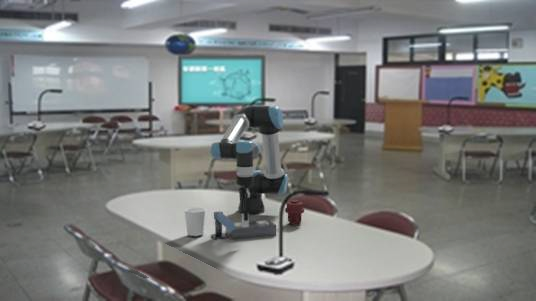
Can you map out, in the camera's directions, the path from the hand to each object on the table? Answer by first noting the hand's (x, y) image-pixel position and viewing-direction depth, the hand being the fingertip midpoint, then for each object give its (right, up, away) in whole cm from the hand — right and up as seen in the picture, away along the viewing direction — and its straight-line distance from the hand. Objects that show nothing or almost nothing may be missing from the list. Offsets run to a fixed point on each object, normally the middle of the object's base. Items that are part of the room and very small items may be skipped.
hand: (245, 226), depth 245 cm
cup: (-25, -7, +16) cm, 30 cm away
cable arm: (-10, +1, +3) cm, 10 cm away
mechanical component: (+24, -4, +37) cm, 44 cm away
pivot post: (-13, -7, +13) cm, 20 cm away
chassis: (+2, -6, +18) cm, 19 cm away
